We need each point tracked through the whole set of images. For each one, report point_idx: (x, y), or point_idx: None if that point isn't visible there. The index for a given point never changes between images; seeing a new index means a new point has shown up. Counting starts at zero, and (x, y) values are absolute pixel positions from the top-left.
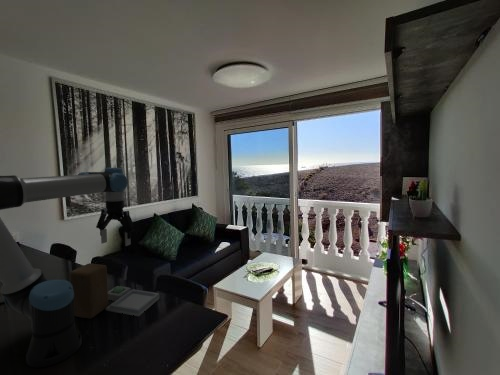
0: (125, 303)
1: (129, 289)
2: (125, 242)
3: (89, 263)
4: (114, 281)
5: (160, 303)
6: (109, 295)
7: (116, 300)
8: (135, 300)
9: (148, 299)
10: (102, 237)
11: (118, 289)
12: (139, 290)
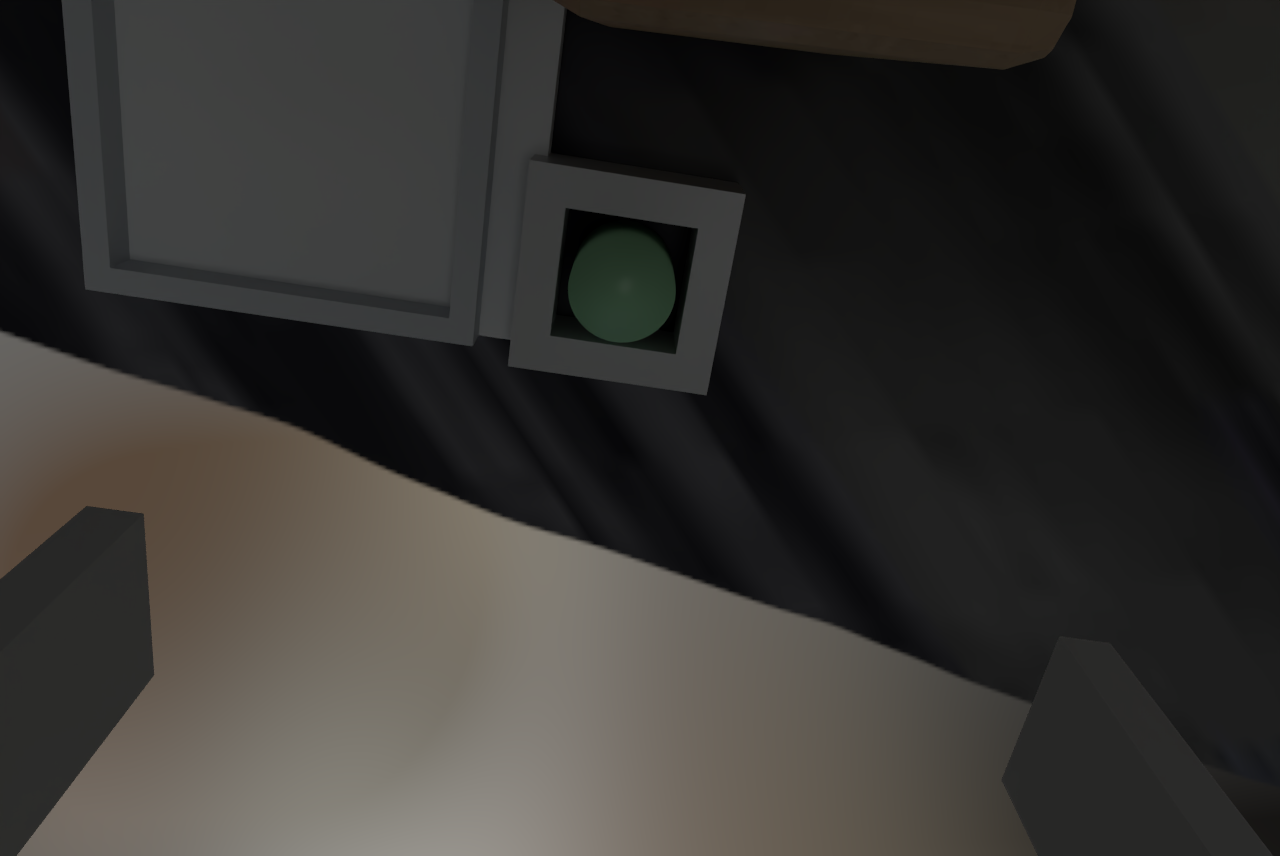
0: (395, 69)
1: (512, 339)
2: (55, 578)
3: (1026, 25)
4: (873, 572)
5: (41, 174)
6: (675, 180)
7: (496, 54)
8: (322, 153)
9: (185, 195)
10: (1167, 794)
11: (597, 261)
12: (371, 327)
